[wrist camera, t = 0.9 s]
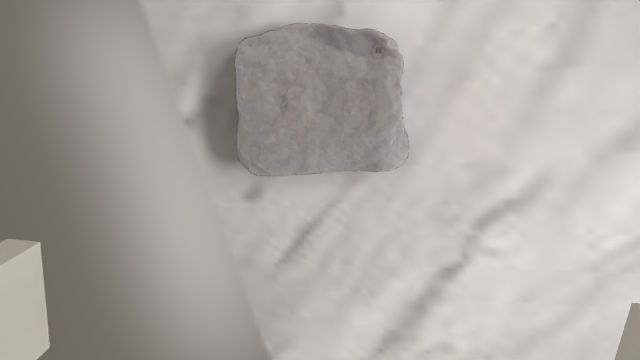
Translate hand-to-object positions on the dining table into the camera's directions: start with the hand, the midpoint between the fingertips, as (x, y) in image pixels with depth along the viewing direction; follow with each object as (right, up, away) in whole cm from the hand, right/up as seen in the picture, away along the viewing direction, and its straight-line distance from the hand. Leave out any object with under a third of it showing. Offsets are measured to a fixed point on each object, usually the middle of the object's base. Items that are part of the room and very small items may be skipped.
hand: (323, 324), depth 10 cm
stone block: (0, +9, +22) cm, 24 cm away
